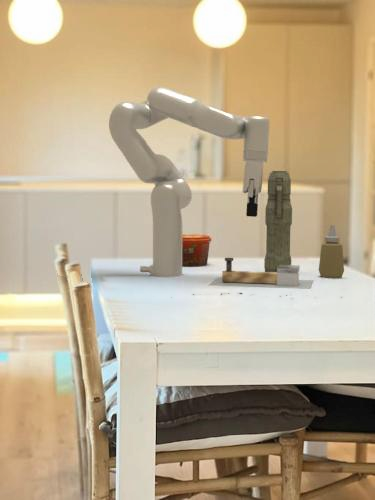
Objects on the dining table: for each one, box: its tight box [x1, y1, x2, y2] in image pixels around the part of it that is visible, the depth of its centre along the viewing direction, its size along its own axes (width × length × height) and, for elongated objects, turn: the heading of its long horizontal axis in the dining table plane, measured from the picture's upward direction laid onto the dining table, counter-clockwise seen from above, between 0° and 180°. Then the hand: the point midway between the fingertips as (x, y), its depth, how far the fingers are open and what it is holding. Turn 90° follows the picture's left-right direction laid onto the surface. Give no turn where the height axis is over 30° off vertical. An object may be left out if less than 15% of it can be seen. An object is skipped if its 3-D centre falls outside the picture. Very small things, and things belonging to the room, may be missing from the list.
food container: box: [182, 234, 212, 267], centre depth 323 cm, size 16×16×11 cm
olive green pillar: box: [263, 170, 293, 272], centre depth 291 cm, size 9×12×35 cm
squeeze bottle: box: [318, 224, 345, 279], centre depth 280 cm, size 8×8×18 cm
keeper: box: [277, 264, 300, 286], centre depth 262 cm, size 6×8×5 cm
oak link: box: [221, 257, 300, 284], centre depth 263 cm, size 23×4×7 cm, turn 77°
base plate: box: [208, 276, 314, 290], centre depth 265 cm, size 30×19×2 cm, turn 79°
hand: (251, 216), depth 271 cm, fingers closed
